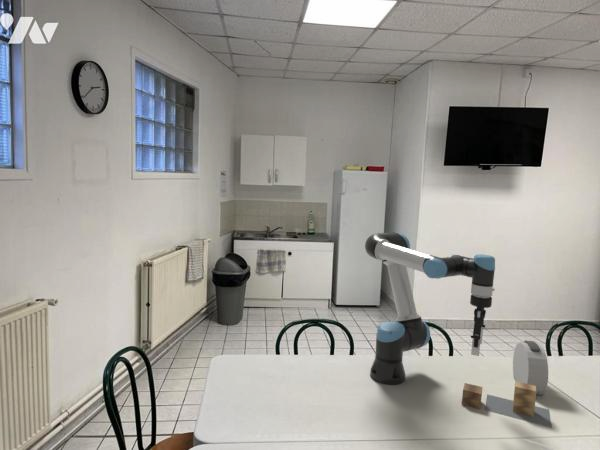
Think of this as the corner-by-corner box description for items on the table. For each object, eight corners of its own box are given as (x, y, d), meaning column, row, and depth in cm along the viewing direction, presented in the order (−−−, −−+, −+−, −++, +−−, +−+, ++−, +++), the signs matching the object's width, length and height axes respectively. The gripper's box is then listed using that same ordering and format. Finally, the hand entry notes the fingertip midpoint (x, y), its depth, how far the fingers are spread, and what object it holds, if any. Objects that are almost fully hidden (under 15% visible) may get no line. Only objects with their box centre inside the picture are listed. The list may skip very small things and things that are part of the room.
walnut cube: (461, 405, 165) (463, 389, 164) (463, 398, 170) (464, 382, 170) (479, 410, 162) (481, 394, 161) (480, 402, 167) (482, 387, 167)
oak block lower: (512, 411, 161) (513, 399, 160) (512, 405, 165) (514, 393, 165) (533, 417, 158) (535, 404, 157) (533, 410, 162) (534, 398, 162)
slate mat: (484, 410, 161) (484, 409, 161) (487, 395, 174) (487, 394, 173) (551, 428, 151) (551, 427, 151) (548, 410, 164) (549, 409, 164)
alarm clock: (546, 400, 172) (551, 353, 170) (526, 397, 173) (531, 351, 171) (528, 377, 192) (533, 334, 190) (511, 374, 194) (515, 333, 192)
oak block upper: (513, 399, 160) (515, 386, 160) (514, 393, 165) (515, 381, 164) (535, 404, 157) (536, 391, 157) (534, 398, 162) (535, 385, 161)
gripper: (490, 304, 149) (485, 362, 151) (493, 290, 171) (489, 340, 173) (467, 301, 152) (462, 358, 154) (473, 287, 174) (469, 337, 176)
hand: (476, 349), depth 164 cm, fingers open, 13 cm apart
